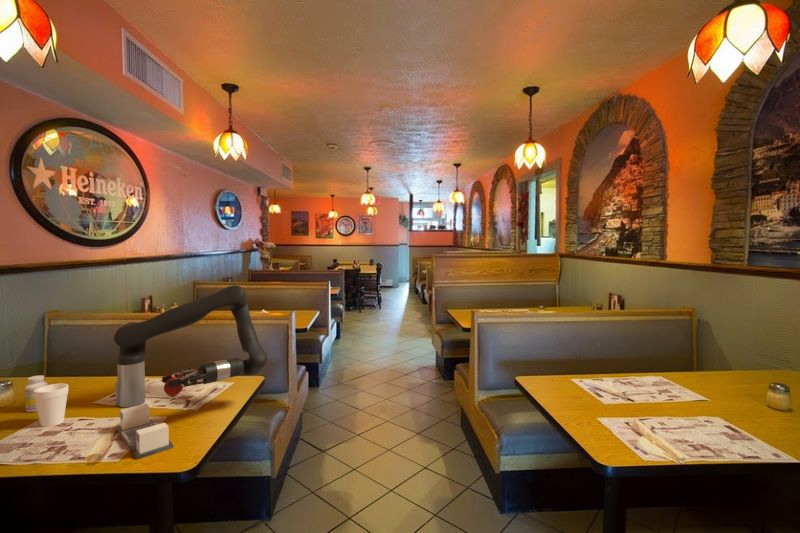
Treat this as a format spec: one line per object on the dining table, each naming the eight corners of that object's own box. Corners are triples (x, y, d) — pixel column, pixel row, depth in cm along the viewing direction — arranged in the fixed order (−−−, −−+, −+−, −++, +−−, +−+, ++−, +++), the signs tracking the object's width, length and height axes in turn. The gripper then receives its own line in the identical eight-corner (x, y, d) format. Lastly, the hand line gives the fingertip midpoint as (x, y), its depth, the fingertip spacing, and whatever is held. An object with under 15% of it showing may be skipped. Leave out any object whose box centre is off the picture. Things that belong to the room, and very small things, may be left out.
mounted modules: (119, 426, 138) (119, 410, 138) (146, 419, 144) (146, 403, 144) (138, 454, 120) (138, 435, 120) (168, 444, 126) (168, 426, 126)
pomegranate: (186, 395, 140) (186, 373, 140) (172, 401, 135) (172, 378, 134) (174, 393, 142) (174, 371, 142) (160, 398, 137) (159, 376, 136)
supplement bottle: (44, 404, 158) (43, 373, 158) (51, 408, 155) (50, 376, 154) (22, 410, 153) (21, 377, 152) (28, 414, 149) (27, 381, 149)
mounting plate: (115, 429, 138) (115, 423, 138) (149, 420, 146) (149, 415, 146) (135, 459, 119) (135, 453, 119) (174, 447, 126) (174, 441, 126)
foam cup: (30, 430, 136) (29, 394, 135) (39, 420, 144) (39, 385, 144) (65, 425, 140) (64, 390, 140) (72, 415, 148) (71, 382, 148)
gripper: (207, 357, 153) (158, 366, 141) (222, 366, 143) (171, 376, 131) (207, 376, 154) (159, 387, 141) (222, 386, 144) (171, 398, 131)
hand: (165, 382), depth 136 cm, fingers closed on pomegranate, 5 cm apart
